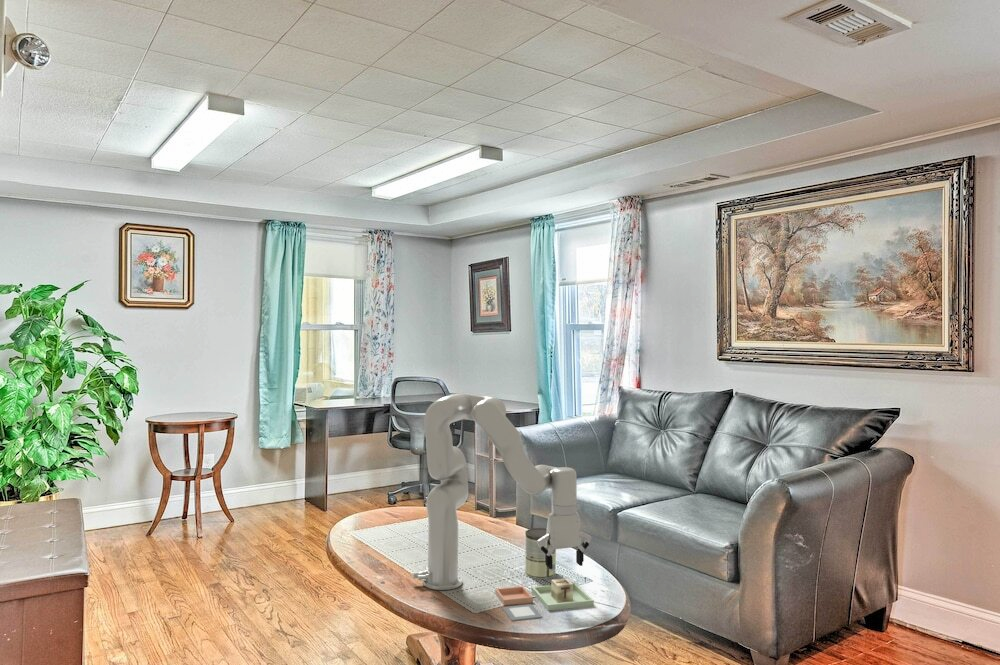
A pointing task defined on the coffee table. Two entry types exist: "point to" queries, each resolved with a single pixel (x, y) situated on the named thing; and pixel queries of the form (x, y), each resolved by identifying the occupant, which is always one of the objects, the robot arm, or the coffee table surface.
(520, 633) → the coffee table surface
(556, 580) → the letter cube
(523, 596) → the terracotta dish
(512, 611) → the grey framed white tile
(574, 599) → the green tray
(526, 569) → the coffee can
